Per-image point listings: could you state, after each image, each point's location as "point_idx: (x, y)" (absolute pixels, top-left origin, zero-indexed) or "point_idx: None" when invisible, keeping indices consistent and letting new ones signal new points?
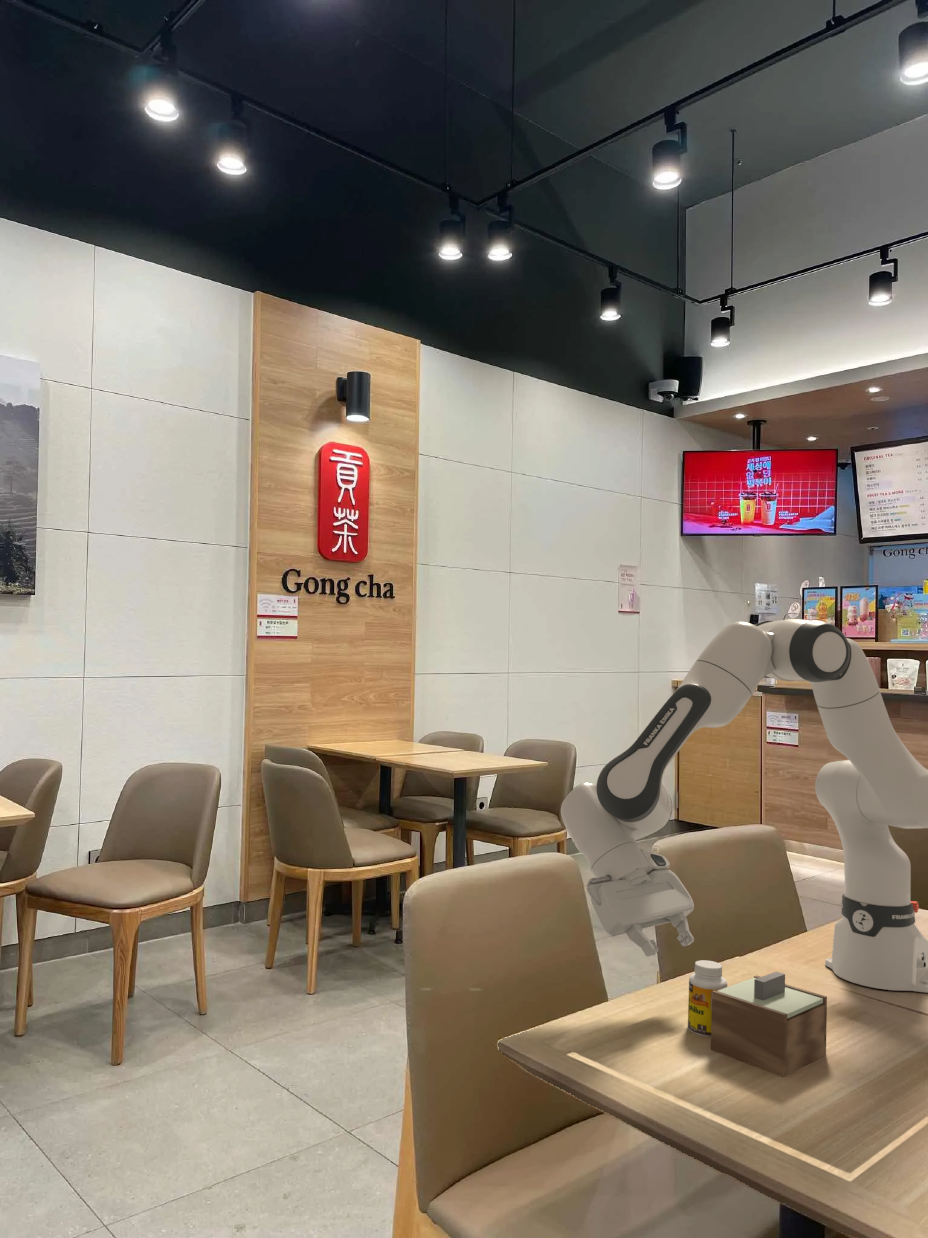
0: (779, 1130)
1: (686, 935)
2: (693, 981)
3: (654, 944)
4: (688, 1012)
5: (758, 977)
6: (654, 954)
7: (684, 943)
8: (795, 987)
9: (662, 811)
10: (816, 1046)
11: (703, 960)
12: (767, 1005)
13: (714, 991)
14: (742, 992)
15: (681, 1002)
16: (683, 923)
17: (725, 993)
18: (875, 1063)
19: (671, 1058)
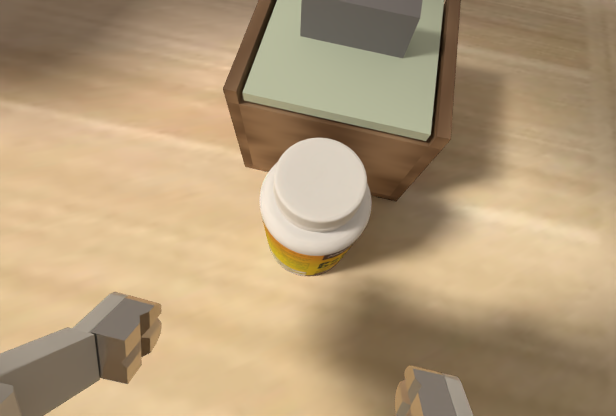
0: (548, 66)
1: (137, 321)
2: (365, 225)
3: (432, 393)
4: (333, 264)
5: (238, 80)
6: (398, 386)
7: (156, 329)
8: (258, 5)
9: None
10: None
11: (292, 203)
12: (430, 27)
13: (446, 134)
14: (388, 84)
15: None
16: (22, 377)
17: (430, 113)
18: (247, 12)
19: (469, 250)
